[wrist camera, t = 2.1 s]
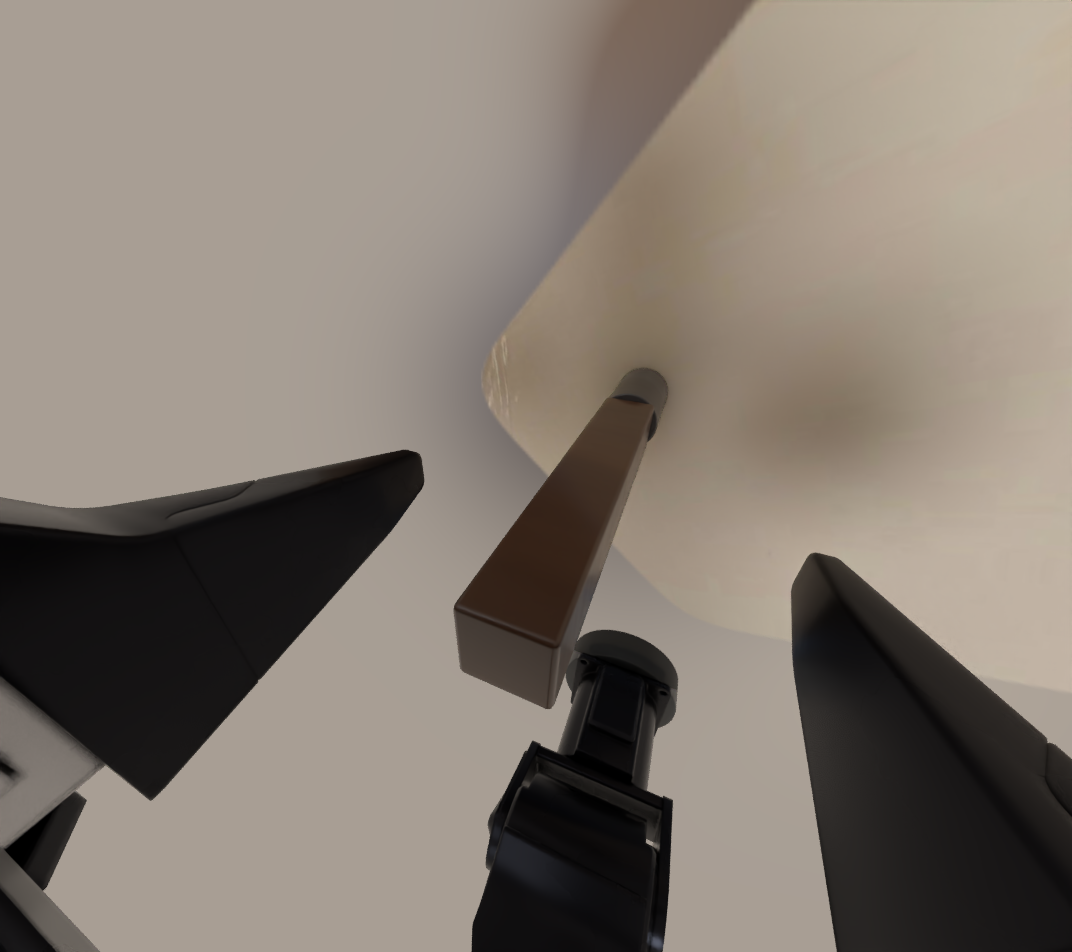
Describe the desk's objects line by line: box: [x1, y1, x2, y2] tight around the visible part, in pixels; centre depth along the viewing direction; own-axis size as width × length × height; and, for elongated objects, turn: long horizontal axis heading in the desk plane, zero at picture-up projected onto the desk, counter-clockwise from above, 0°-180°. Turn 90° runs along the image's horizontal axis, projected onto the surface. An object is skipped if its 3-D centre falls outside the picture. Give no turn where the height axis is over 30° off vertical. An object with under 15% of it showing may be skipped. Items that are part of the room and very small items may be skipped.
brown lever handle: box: [454, 368, 668, 709], centre depth 11 cm, size 2×2×13 cm
